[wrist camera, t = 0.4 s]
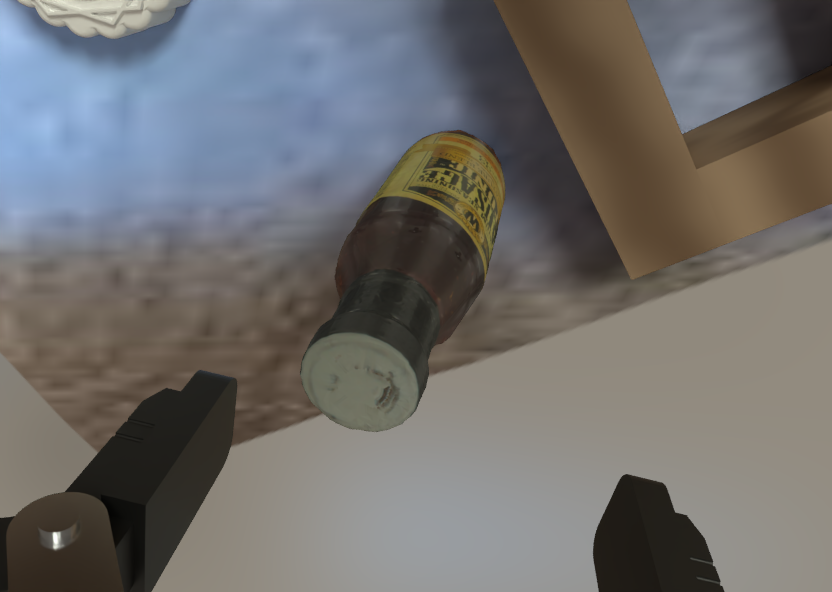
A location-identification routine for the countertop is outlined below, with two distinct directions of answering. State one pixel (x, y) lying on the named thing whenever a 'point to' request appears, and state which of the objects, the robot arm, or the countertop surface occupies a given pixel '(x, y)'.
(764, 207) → the square wooden frame
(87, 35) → the cream scalloped thick disc
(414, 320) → the sauce bottle
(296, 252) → the countertop surface
